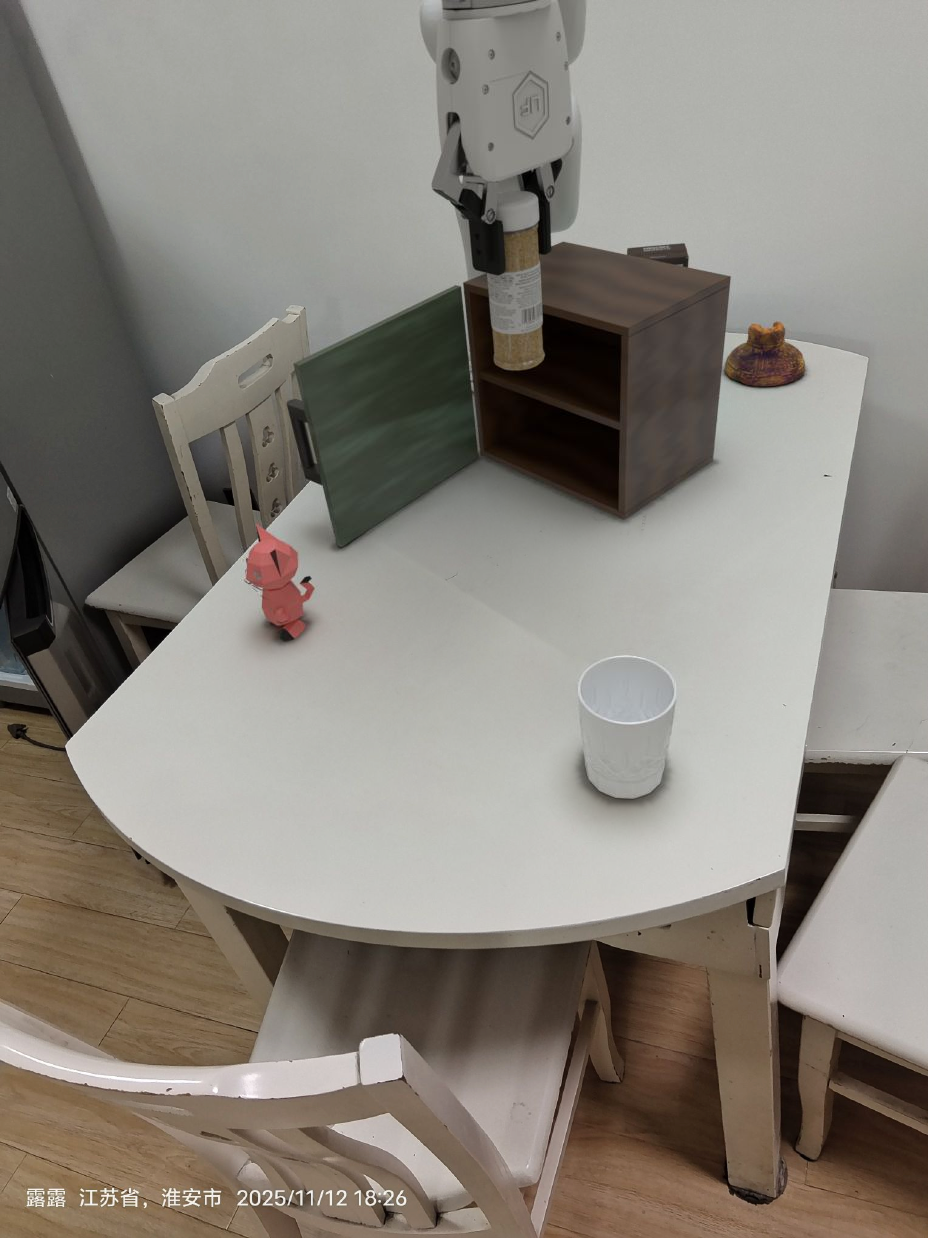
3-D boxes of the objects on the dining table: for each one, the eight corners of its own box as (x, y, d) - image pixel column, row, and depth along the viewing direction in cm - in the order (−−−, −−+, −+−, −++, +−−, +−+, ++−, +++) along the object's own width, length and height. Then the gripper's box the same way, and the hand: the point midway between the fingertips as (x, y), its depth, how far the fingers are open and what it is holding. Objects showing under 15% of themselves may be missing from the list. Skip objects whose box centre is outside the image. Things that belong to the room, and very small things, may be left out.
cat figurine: (252, 620, 97) (222, 532, 89) (307, 596, 99) (283, 509, 91) (274, 654, 92) (244, 564, 84) (332, 628, 94) (308, 539, 86)
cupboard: (624, 520, 104) (628, 327, 89) (480, 455, 120) (462, 282, 105) (713, 461, 113) (731, 275, 97) (567, 407, 129) (563, 241, 113)
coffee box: (680, 343, 142) (686, 241, 132) (684, 359, 137) (690, 255, 127) (624, 346, 144) (626, 246, 133) (626, 362, 139) (628, 259, 128)
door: (304, 529, 110) (257, 351, 95) (440, 444, 124) (418, 277, 108) (341, 547, 106) (298, 365, 91) (478, 457, 119) (461, 285, 104)
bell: (717, 384, 129) (722, 337, 125) (732, 352, 138) (736, 307, 133) (799, 391, 125) (806, 342, 120) (808, 357, 133) (816, 311, 129)
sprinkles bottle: (529, 346, 77) (520, 185, 69) (554, 363, 74) (549, 196, 65) (484, 359, 76) (469, 197, 67) (508, 377, 73) (496, 209, 64)
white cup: (571, 741, 78) (569, 661, 72) (657, 730, 78) (662, 649, 72) (588, 811, 72) (587, 730, 66) (681, 799, 72) (689, 716, 66)
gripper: (441, 4, 52) (470, 304, 63) (618, -35, 60) (614, 238, 71) (364, 5, 56) (404, 286, 68) (538, -31, 64) (547, 225, 76)
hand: (512, 258), depth 69 cm, fingers closed on sprinkles bottle, 4 cm apart
